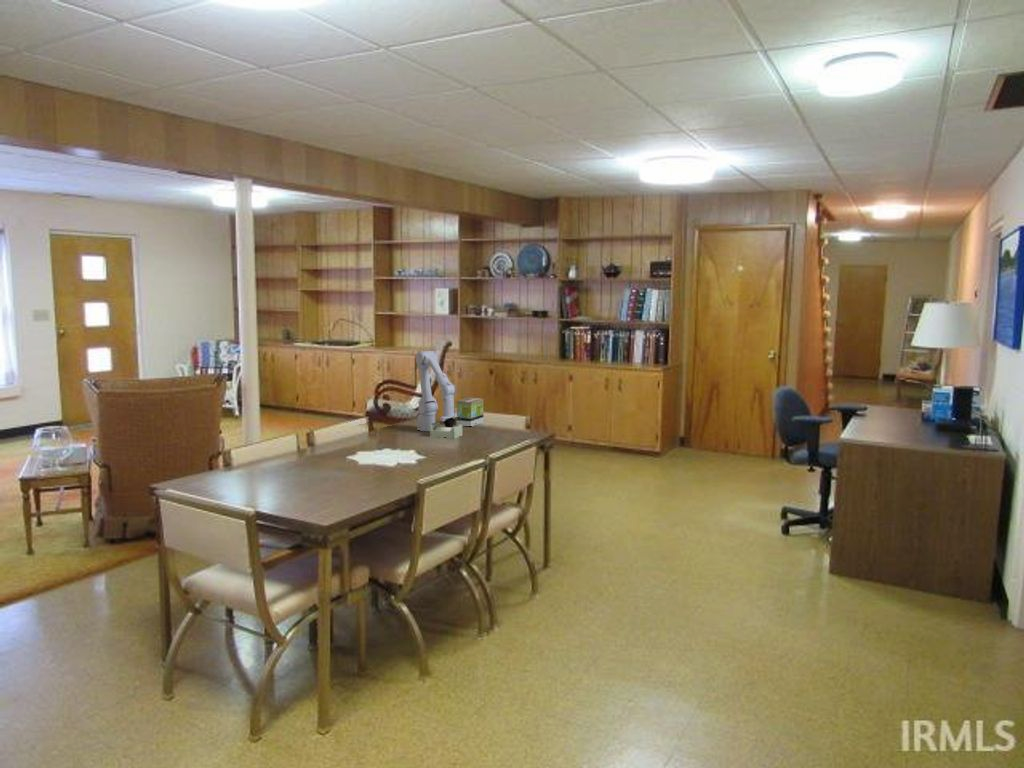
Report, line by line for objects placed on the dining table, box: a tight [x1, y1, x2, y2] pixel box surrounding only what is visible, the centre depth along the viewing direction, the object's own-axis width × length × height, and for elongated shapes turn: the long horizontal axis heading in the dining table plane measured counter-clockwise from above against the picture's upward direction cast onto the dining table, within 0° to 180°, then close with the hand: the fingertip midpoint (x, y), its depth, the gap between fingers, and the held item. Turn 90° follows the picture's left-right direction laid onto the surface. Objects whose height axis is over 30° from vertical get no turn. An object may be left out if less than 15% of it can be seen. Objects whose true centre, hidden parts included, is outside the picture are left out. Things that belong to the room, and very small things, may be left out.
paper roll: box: [436, 426, 452, 432], centre depth 384 cm, size 10×5×5 cm
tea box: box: [456, 397, 485, 427], centre depth 416 cm, size 15×10×15 cm, turn 154°
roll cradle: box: [429, 422, 463, 439], centre depth 385 cm, size 15×9×7 cm, turn 66°
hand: (449, 432), depth 388 cm, fingers closed
